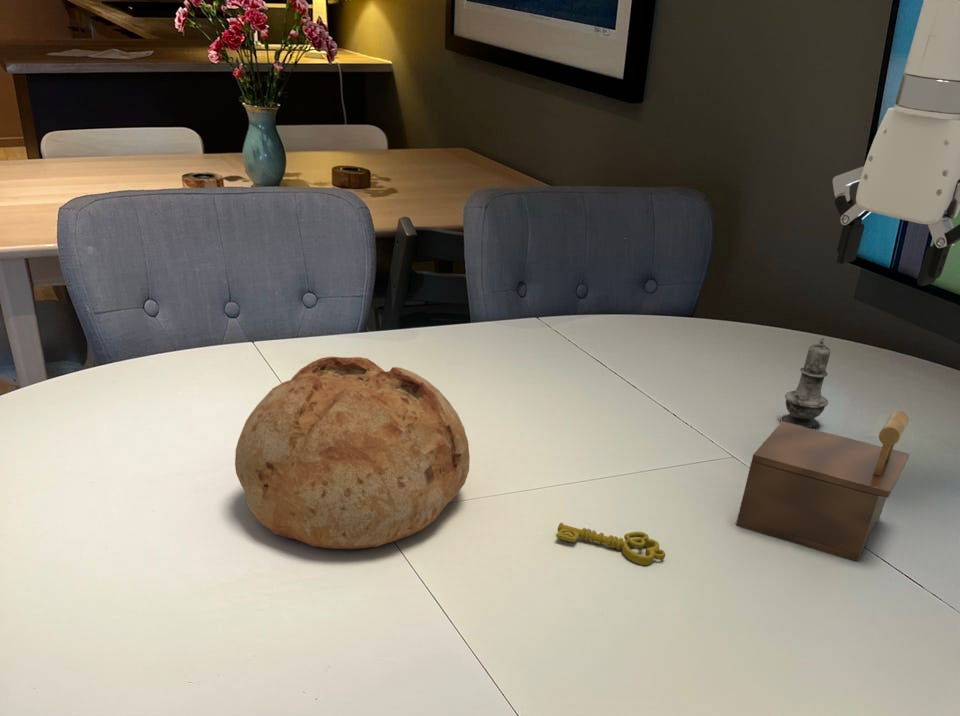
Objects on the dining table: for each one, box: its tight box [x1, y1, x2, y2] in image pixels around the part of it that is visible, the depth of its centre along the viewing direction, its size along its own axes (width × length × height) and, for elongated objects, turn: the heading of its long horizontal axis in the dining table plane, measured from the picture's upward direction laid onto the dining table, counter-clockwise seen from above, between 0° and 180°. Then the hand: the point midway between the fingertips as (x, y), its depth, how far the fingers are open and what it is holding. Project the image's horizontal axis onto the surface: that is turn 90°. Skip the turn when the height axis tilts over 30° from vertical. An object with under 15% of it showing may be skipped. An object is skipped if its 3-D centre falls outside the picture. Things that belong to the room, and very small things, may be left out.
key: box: [555, 522, 666, 566], centre depth 105 cm, size 12×1×5 cm
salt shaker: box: [781, 337, 831, 430], centre depth 135 cm, size 6×6×12 cm
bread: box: [234, 356, 471, 550], centre depth 106 cm, size 26×23×15 cm
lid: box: [751, 410, 911, 499], centre depth 107 cm, size 14×12×6 cm
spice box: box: [735, 460, 887, 562], centre depth 111 cm, size 14×12×8 cm
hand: (884, 272), depth 110 cm, fingers open, 9 cm apart
